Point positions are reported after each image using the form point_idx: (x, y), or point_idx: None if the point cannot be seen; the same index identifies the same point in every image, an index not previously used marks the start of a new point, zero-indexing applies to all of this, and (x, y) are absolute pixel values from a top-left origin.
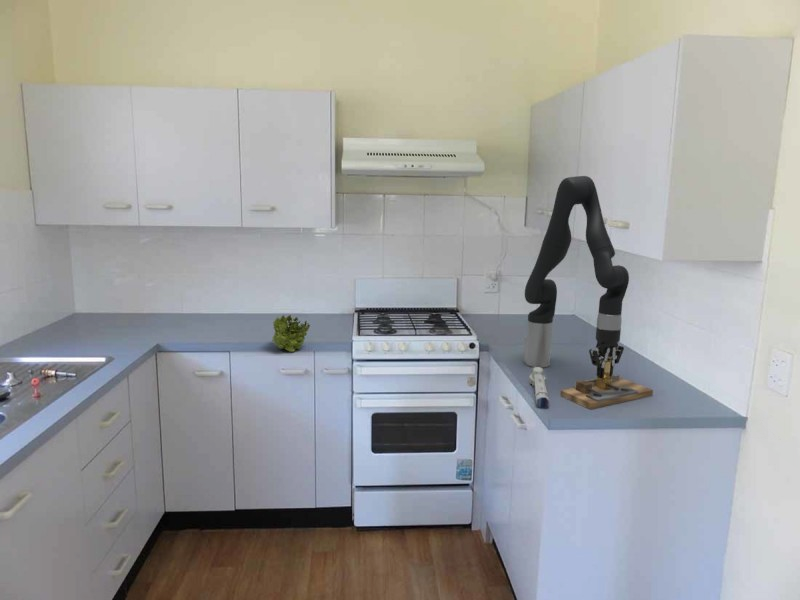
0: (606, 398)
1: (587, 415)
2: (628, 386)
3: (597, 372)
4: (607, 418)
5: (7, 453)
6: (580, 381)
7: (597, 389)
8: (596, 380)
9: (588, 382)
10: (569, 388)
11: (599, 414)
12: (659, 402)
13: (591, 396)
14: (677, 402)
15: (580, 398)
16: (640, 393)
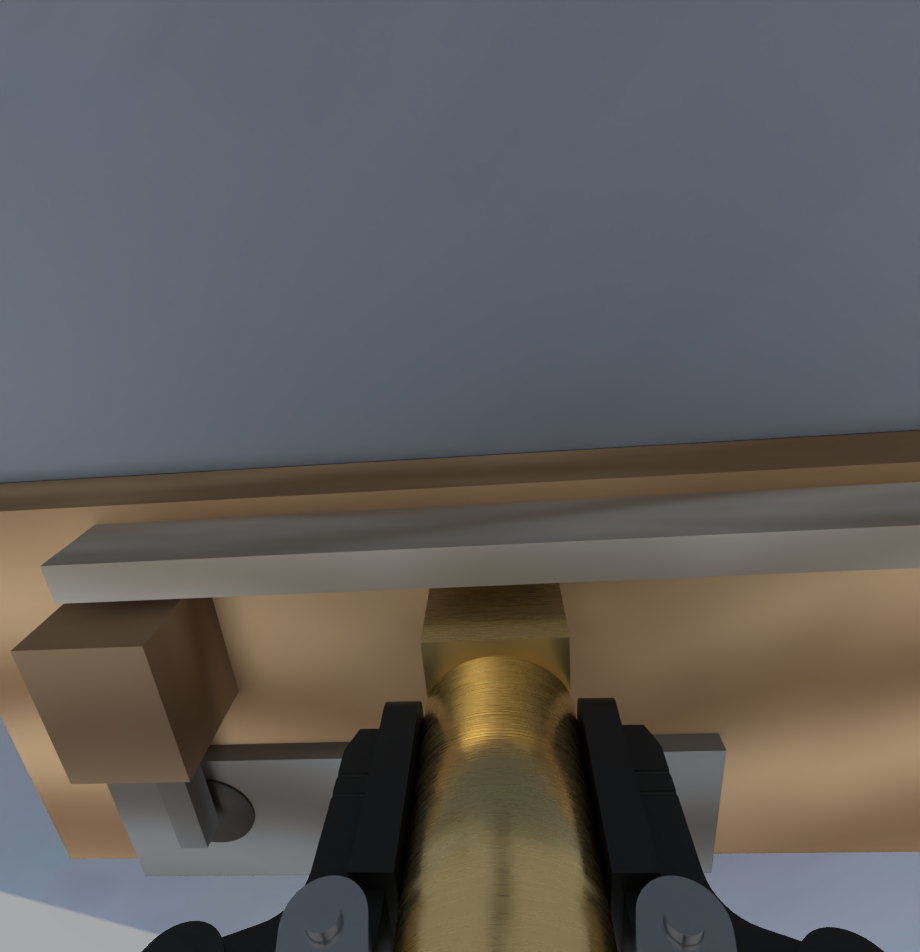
0: (258, 870)
1: (30, 861)
2: (804, 707)
3: (338, 797)
4: (150, 929)
5: None
6: (70, 677)
7: (368, 653)
8: (427, 612)
9: (165, 739)
10: (38, 513)
11: (131, 877)
12: (782, 893)
13: (132, 808)
14: (917, 935)
15: (29, 762)
16: (735, 844)
